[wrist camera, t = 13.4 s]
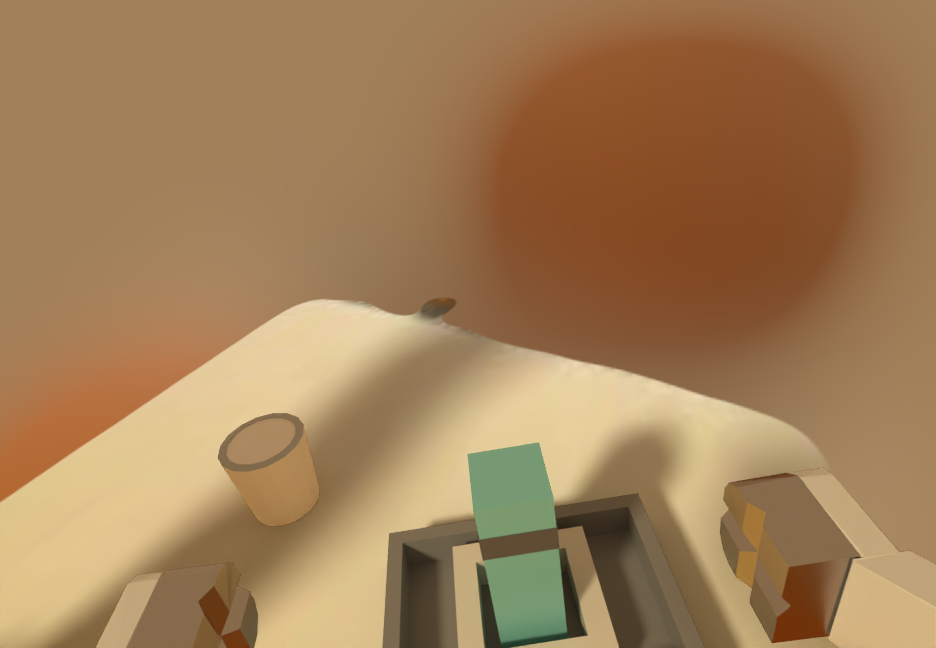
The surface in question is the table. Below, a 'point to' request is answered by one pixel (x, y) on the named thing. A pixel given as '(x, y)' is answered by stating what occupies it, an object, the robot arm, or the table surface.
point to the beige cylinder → (272, 468)
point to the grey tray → (583, 580)
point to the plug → (519, 543)
